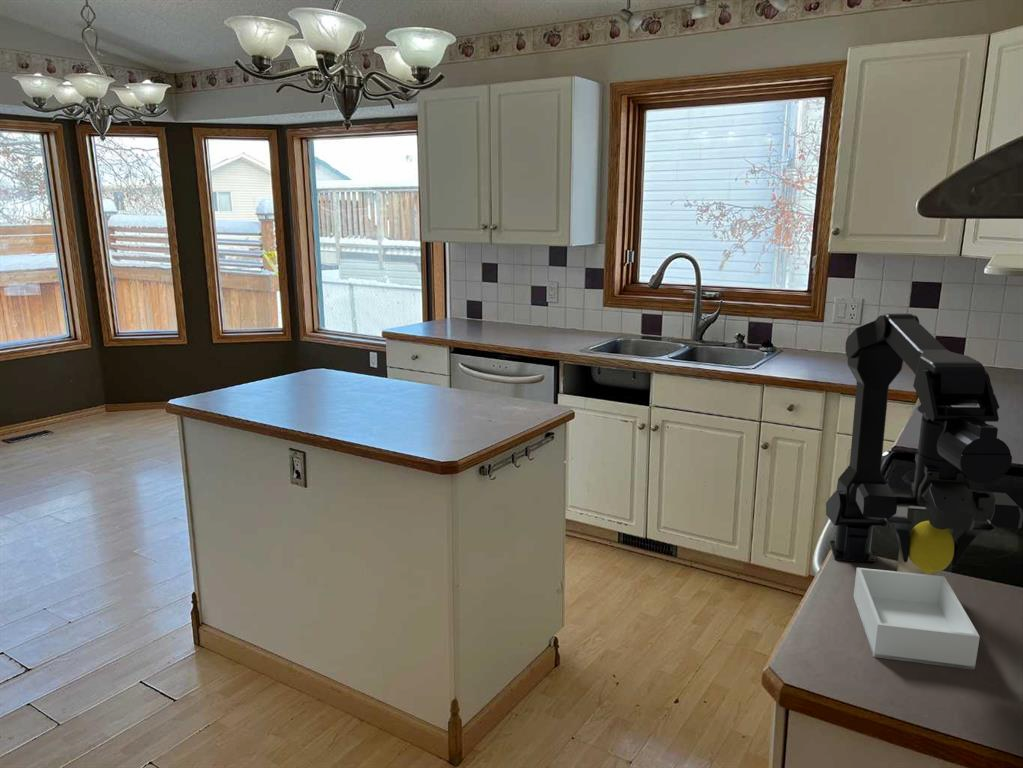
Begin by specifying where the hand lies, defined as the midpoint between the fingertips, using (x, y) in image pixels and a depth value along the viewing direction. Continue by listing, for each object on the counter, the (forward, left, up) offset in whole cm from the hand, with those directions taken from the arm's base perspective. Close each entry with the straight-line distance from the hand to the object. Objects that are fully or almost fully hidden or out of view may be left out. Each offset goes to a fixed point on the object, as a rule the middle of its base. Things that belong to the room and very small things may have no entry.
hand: (928, 563), depth 101 cm
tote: (-3, 0, -12) cm, 13 cm away
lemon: (0, 0, -2) cm, 2 cm away
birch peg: (-16, +3, -12) cm, 21 cm away
